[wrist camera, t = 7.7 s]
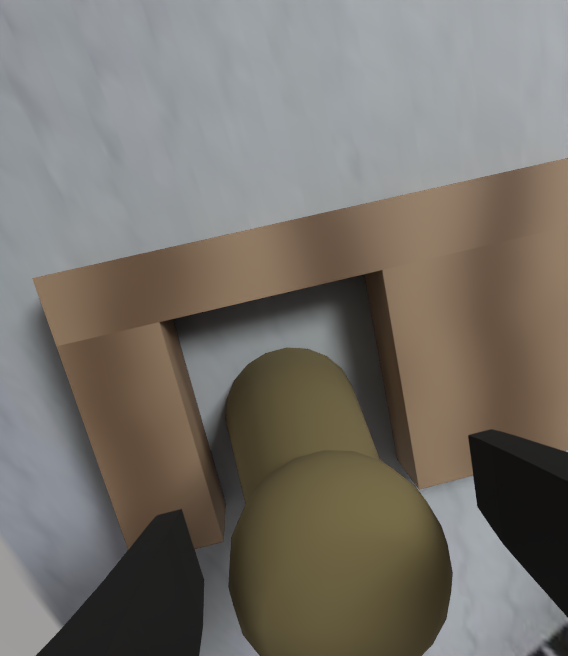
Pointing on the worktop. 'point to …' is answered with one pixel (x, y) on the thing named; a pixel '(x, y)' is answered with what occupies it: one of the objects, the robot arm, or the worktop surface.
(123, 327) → the notched board
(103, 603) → the robot arm
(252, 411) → the cork
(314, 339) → the worktop surface
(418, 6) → the worktop surface
